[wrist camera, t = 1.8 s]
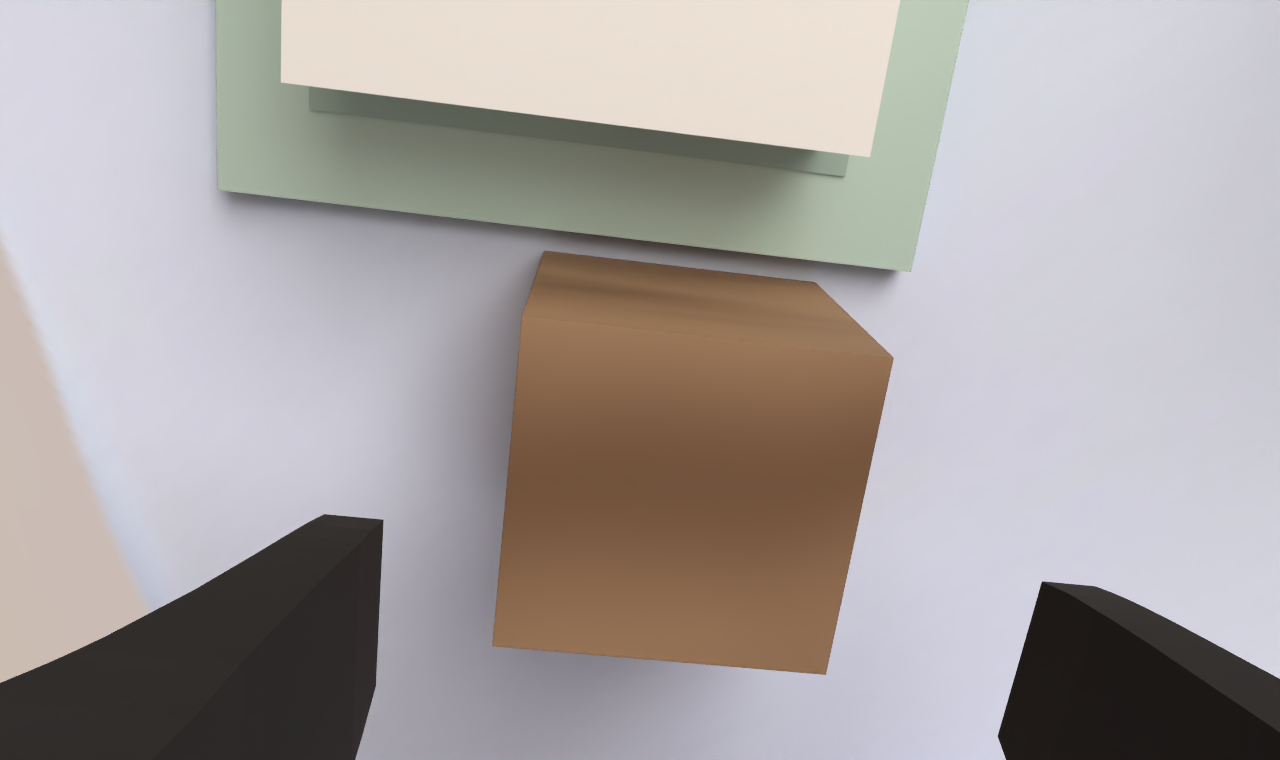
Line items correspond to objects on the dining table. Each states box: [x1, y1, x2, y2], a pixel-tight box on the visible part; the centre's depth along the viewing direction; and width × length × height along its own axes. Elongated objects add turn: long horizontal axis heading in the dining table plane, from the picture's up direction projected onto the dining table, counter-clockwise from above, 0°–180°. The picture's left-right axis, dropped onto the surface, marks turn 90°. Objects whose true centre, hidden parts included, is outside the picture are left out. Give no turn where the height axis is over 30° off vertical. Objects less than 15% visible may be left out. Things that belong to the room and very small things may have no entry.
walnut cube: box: [492, 251, 893, 675], centre depth 16 cm, size 5×5×5 cm
